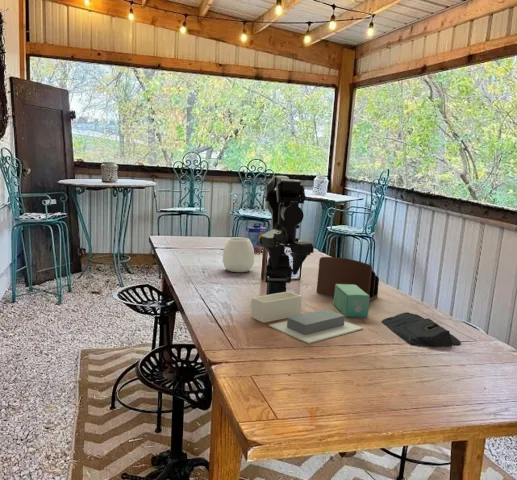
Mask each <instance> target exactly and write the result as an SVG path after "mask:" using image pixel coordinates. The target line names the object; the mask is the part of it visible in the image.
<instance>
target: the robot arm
mask: <svg viewBox="0 0 517 480" xmlns="http://www.w3.org/2000/svg"><path fill="white" fill-rule="evenodd" d="M264 195H265V196H264V201H265V202H266V209H267V210H268V212H269V213H270V214H271V230H269V231H267V232H266V233H265V234H263V235H261V238H260V244H262V246H263V247H264V248H265V251H267V253H268V255H269V257H268V260H267V262H266V264H265V267H264V272H263V281H264V283H266V293H265V295H270V294H276V293H282V292H287V284H290V283H291V282H292V275H293V276H295V275H297V274H298V272H299V270H300V268H301V267H302V265H303V263H304V262H305V260H306V258H307V257H308V256H311V254H314V251H315V250H314V249H315V248H314V247H315V246H314V244H313V243H311V242H307V241H299V240H300V239H299V238H298V237H297V230H298V229H300V224H301V223H302V222H303V220H304V216H305V215H304V212H303V209H302V208H301V207H299V206H300V204H302V205H303V204H304V203H305V201H306V191H305V187H304V184H303V183H302V182H301V180H300V179H291V178H290V177H289V176H287V175H275V176H273V179H272V181H271V182H270V183H268V184H267V185H266V189H265V194H264ZM285 248H289V249H290V251H291V252H289V254H290V256H291V258H292V265H290V256H289V254H287V253H286V252H285Z"/></svg>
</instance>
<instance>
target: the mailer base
mask: <svg viewBox="0 0 517 480" xmlns="http://www.w3.org/2000/svg"><path fill="white" fill-rule="evenodd" d="M302 299H303V297H302V295H300V294H298V293H294V292H292V291H286V292H282V293H276V294H270V295H266V294H264V295H258V296H253V297H251V311H250V317H251V319H255V320H257V321H259V322H262V323H263V324H264V323H268V322H273V321H278V320H279V321H280V320H282V319H287V318H288V317H293V316H297V315H302V314H301V313H302V312H301V311H302V301H303V300H302Z"/></svg>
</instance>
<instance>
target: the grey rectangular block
mask: <svg viewBox="0 0 517 480" xmlns="http://www.w3.org/2000/svg"><path fill="white" fill-rule="evenodd" d="M345 318H346V317H345V316H344V315H343V314H342V313H338V312H336V311H333V310H330V309H327V308H326V309H321V310H317V311H313V312H307V313H303V314H301V315H297V316H293V317H288V318H286V319H287V320H286V321H287V328H289V329H292V330H294V331H296V332H299V333H301V334H303V335H308V334H312V333H316V332H320V331H324V330H327V329H331V328H335V327H339V326H343V325H344V321H345Z"/></svg>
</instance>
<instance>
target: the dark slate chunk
mask: <svg viewBox="0 0 517 480" xmlns="http://www.w3.org/2000/svg"><path fill="white" fill-rule="evenodd" d="M381 323H382V324H383V325H384V326H386V327H387V329H389V330H390V331H391V332H392V333H393V334H394V335H396V336H397V337H399V338H400V339H402V341H404V342H405V343H407V344H408V345H409V346H416V347H418V348H422V347H425V348H426V347H427V348H428V347H433V348H443V347H444V348H445V347H452V346H457V345H461V343H462V342H461V340H459V338H457V337H456V336H455V335H454V334H451V332H450V330H448V329H445V328H444V327H443V326H441V325H439V324H438V323H437V322H435V321H434V320H432V319H430V318H425V317H422V316H420V315H419V314H417V313H412V312H408V311H406V312H402V313H398V314H396V315H394V316H389V317H386V318H384V319H382V320H381Z"/></svg>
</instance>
